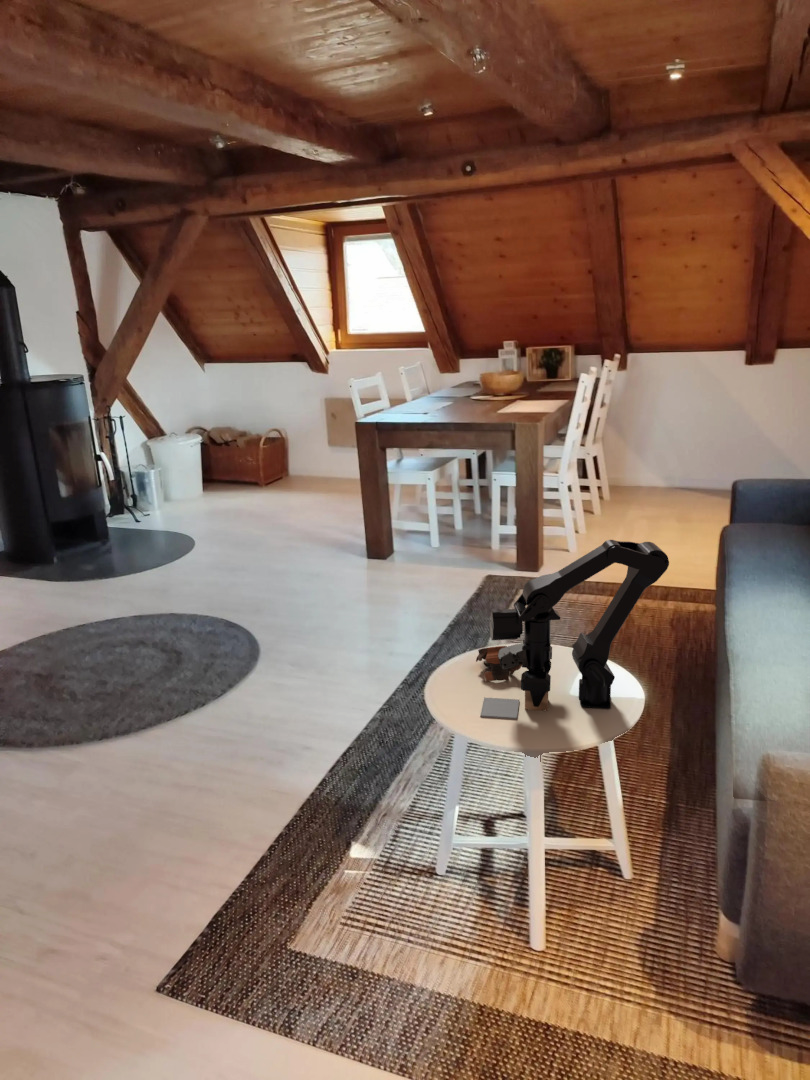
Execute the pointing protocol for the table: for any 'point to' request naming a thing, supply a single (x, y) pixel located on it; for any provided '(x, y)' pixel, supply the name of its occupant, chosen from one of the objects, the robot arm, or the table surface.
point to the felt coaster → (500, 708)
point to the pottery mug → (495, 664)
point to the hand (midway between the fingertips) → (536, 700)
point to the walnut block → (529, 702)
